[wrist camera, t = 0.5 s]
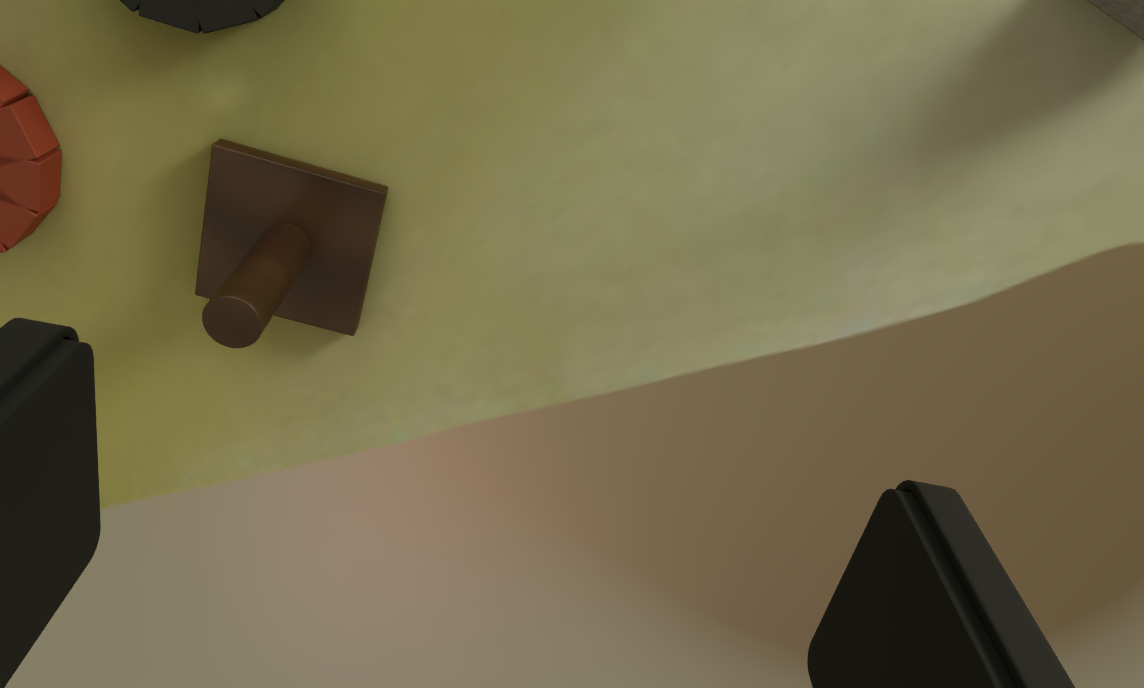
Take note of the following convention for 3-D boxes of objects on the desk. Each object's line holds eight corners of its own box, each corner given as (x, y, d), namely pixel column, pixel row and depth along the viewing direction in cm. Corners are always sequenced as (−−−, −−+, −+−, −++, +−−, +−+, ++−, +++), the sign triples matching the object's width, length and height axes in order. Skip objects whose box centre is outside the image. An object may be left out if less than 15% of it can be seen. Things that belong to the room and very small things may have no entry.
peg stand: (219, 137, 42) (137, 206, 34) (388, 186, 43) (346, 263, 35) (201, 286, 46) (124, 379, 38) (358, 327, 47) (314, 425, 39)
